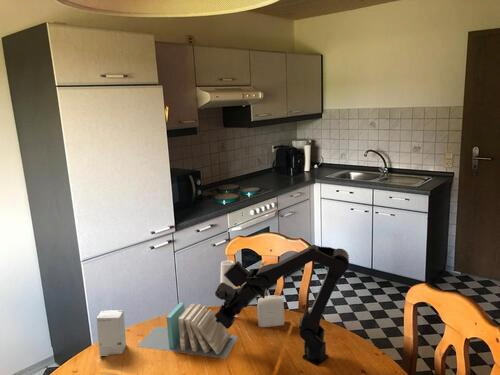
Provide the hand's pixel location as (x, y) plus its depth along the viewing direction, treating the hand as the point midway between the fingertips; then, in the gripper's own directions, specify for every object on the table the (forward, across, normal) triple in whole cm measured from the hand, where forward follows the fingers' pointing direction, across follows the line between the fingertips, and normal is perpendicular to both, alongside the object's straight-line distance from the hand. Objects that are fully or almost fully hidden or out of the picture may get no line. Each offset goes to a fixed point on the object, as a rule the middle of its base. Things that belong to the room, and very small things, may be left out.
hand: (216, 321), depth 145 cm
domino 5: (+5, 0, +8) cm, 9 cm away
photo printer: (-3, -18, +18) cm, 26 cm away
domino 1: (+18, 0, -4) cm, 18 cm away
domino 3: (+11, 0, +2) cm, 11 cm away
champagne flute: (+9, -20, +6) cm, 23 cm away
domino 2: (+14, 0, -1) cm, 15 cm away
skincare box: (+33, +10, -18) cm, 39 cm away
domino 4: (+8, 0, +5) cm, 9 cm away
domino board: (+16, 0, -1) cm, 16 cm away
